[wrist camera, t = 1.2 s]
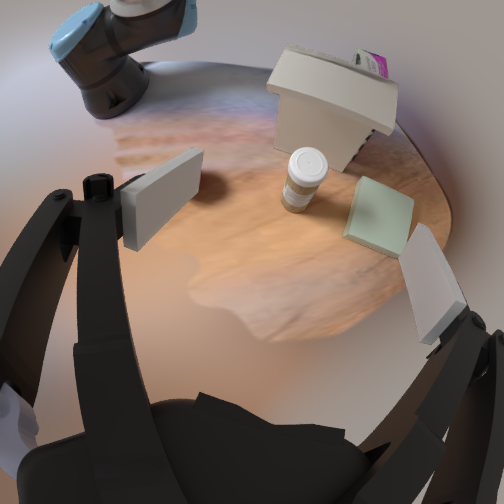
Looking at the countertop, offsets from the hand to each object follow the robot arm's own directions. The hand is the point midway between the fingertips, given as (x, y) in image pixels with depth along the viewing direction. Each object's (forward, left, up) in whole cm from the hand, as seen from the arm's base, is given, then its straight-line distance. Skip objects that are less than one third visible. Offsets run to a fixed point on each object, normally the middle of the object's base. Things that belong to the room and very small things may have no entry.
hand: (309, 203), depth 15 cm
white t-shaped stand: (0, +15, -26) cm, 30 cm away
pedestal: (+14, +11, -26) cm, 32 cm away
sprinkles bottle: (0, +9, -27) cm, 28 cm away
